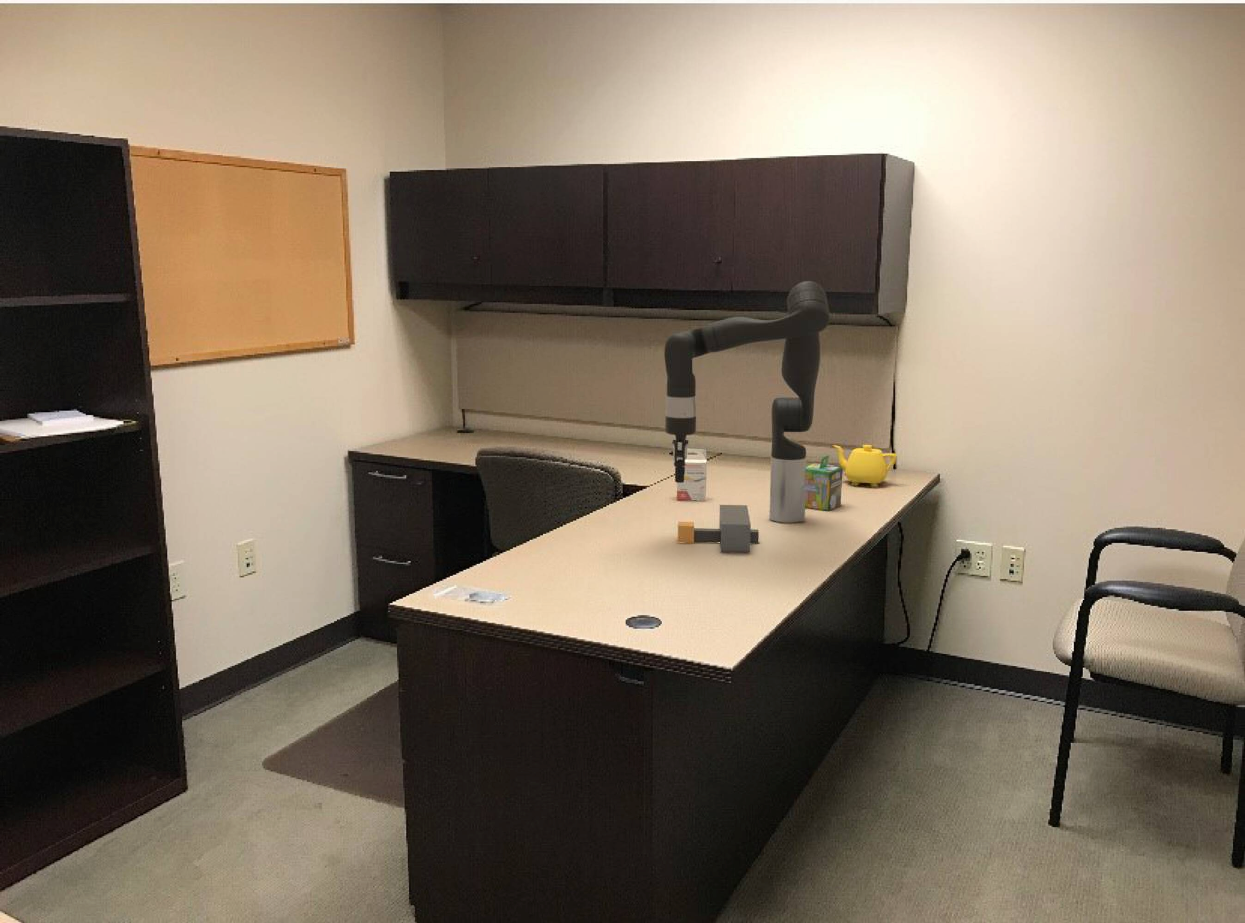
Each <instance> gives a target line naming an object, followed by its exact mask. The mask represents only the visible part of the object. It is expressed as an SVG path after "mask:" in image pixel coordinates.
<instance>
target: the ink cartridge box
mask: <svg viewBox="0 0 1245 923" xmlns="http://www.w3.org/2000/svg"><path fill="white" fill-rule="evenodd" d="M689 453H694V454H689ZM707 462H708V460H707V450H706V449H699V448H698V449H697V448H688V452H687V459H686V460H685V475H684V482H683V483H676V500H677V501H686V500H697V501H696V502H706V499H707V498H706V496H707V464H708V463H707Z"/></svg>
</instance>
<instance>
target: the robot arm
mask: <svg viewBox="0 0 1245 923" xmlns="http://www.w3.org/2000/svg"><path fill="white" fill-rule="evenodd" d="M786 306H787V316H784V317H782V318H781V317H780V318H777V319H772V320H771V319H770V320H767V319H766V320H765V319H758V318H757V319H756V318H752V317H747V316H732V317H729V318H725V319H721V320H718V321H715V322H712V323H709V324H706V325H704V326H702V327H701V326H700V327H698V328H693V329H689V330H684V331H681V332H677V333H673V334H672V335H670V336H669V337H668V338H667V339H666V341H665V343H664V344H665V345H664V362H665V370H666V372H665V373H666V376H667V377H666V378H667V380H666V399H665V400H666V402H665V427H664V428H665V429H664V430H665V433H666V434H668V435H671V436H672V435H674V436H675V439H672V458H673V460H674V462H673V466H674V476H675V477H674V481H675V483H676V484H677V483H683V482H684V475H685V460H686V459H687V452H688V449H689V442H690V441H689V439H687V435H688V436H691V435H694V434H695V433H696V432H697V401H696V400H697V399H696V394H697V393H696V391H697V390H696V387H697V386H696V384H697V382H696V376H695V373H693V359H694V358H698V357H701V356H703V355H707V354H711V353H717V352H722V351H723V352H724V351H727V350H730V349H734V348H736V347H740V346H744V345H748V344H754V343H759V342H760V343H761V342H770V341H779V340H785V341H784V347H783V353H782V359H781V360H782V361H781V376H782V379H783V381H784V382H785V384H786V385H787V386H788V387H789V388H790V389H791V390H792V392H793V393H795V395H797V397H776V398H774V399H773V401H772V404H771V456H770V483H769V484H770V485H769V486H770V489H769V491H770V492H769V511H768V512H769V520H771V521H774V522H778V523H787V524H789V523H799V522H805V518H806V507H805V497H806V487H805V468H806V464H807V449H806V446H805V445H803V444H799V443H797V442H794V441H792V440H791V439H788V438H787V437H786V435H784V433H805V432H808V431H810V429H811V428H812V424H813V420H814V409H815V407H814V406H815V393H816V385H817V380H818V376H819V370H820V365H821V364H820V363H821V345H820V343H821V342H820V341H821V340H820V333H821V332H822V331H824V330H825V329H826V328H828V326H829V324H830V321H831V318H830V309H829V303H828V298H827V294H826V292H825V290H824V288H823V287H822V286H821V285H820V284H819V283H817V282H814V281H811V280H808V281H807V280H805V281H802V282H799V283H798V284H796V285H795V286H793V288H792V289H791V290H790V291H789V293H788V296H787V299H786Z"/></svg>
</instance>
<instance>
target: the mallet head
mask: <svg viewBox="0 0 1245 923" xmlns="http://www.w3.org/2000/svg"><path fill="white" fill-rule="evenodd" d="M718 518H719V523H718V524H719V526H718V529H720V543H719V546H720V548H721V549H720V553H729V552H750V553H751V544H750V532H751V529H752V528H751V525H752V524H751V519H750V514H749V509H748V505H746V504H719V517H718Z"/></svg>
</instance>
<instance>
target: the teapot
mask: <svg viewBox="0 0 1245 923" xmlns="http://www.w3.org/2000/svg"><path fill="white" fill-rule="evenodd" d="M832 446H833V447H835V449H836V450H837V453H838V463H839V466H840V467H843V471H844V473H845V476H846V479H847V480H848V481H850V482H851V483H850V486H853V487H858V485H860V483H861V484H862V483H863V484H864V483H866V484H869V485H870V486H871V488H879V484H881V483H882V482H884V481H885V479H886V478H887V476H888V472H889V471H890V469H891V468H892V467H893V466H894V465H895V463H896V462H897V459H898V455H897V454H896V453H892V452H891V453H883V451H882V450H881V449H878V448H872V447H873V445H870V444H863V445H862V447H857V448H854V449H853V450H852V452H851V453H850V455H849V457H848V459H846V458H845V456H844V450H843V449H842V447H841V446H839V445H836V444H833V445H832ZM885 457H886V458H887V457H889V458H890V462H889V463H888V465H887V461H886V458H885ZM877 483H878V484H877Z"/></svg>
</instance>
